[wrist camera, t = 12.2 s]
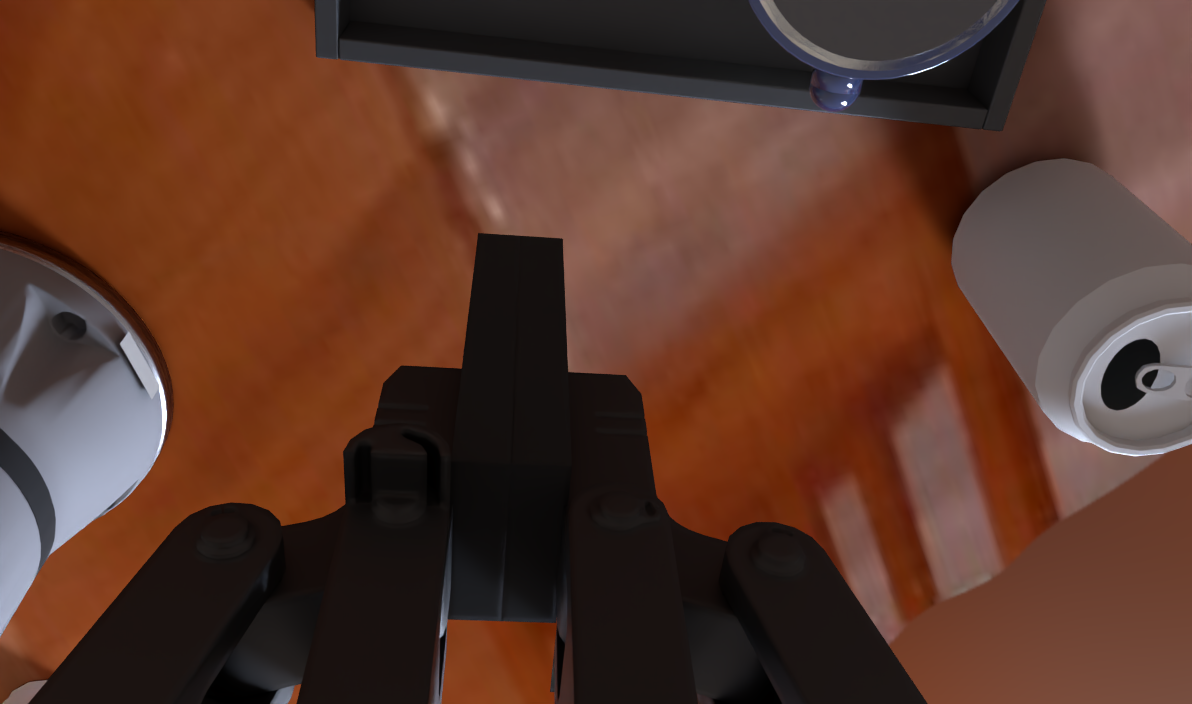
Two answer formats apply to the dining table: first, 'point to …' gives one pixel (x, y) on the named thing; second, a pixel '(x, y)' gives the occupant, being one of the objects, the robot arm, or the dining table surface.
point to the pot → (874, 38)
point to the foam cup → (24, 693)
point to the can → (1085, 302)
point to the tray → (665, 53)
